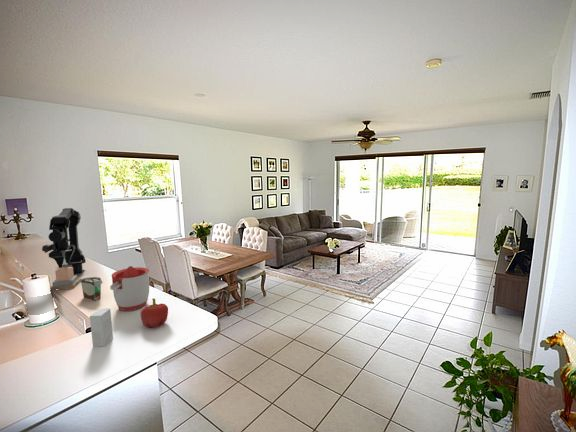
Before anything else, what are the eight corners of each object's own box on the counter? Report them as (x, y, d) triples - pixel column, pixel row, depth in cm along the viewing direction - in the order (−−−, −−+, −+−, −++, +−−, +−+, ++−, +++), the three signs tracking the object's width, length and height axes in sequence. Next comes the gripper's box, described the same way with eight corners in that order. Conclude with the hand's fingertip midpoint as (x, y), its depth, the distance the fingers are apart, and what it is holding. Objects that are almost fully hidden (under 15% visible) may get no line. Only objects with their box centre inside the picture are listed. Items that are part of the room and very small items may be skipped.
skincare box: (101, 337, 106) (99, 308, 105) (113, 337, 107) (111, 307, 105) (91, 347, 100) (89, 316, 99) (104, 346, 101) (101, 315, 99)
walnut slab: (58, 284, 162) (58, 280, 162) (81, 282, 166) (80, 278, 166) (50, 291, 152) (49, 287, 152) (74, 289, 156) (73, 285, 155)
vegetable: (141, 321, 119) (139, 299, 118) (167, 316, 124) (166, 294, 123) (141, 333, 109) (140, 309, 108) (170, 327, 114) (168, 304, 113)
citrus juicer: (102, 311, 128) (99, 269, 125) (135, 297, 144) (133, 260, 141) (126, 317, 122) (123, 274, 120) (158, 302, 138) (155, 263, 136)
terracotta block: (61, 277, 160) (60, 267, 159) (73, 276, 162) (72, 266, 161) (56, 281, 154) (55, 270, 154) (68, 280, 156) (68, 269, 155)
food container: (108, 297, 144) (107, 278, 142) (96, 301, 138) (94, 282, 137) (94, 293, 149) (92, 275, 148) (81, 297, 143) (80, 278, 142)
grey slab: (58, 281, 161) (58, 277, 161) (77, 279, 164) (76, 275, 164) (52, 286, 153) (52, 282, 152) (72, 284, 156) (72, 280, 156)
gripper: (52, 236, 162) (54, 262, 164) (35, 242, 144) (38, 271, 146) (74, 235, 165) (77, 260, 167) (60, 241, 148) (63, 269, 150)
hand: (64, 265), depth 157 cm, fingers open, 9 cm apart
